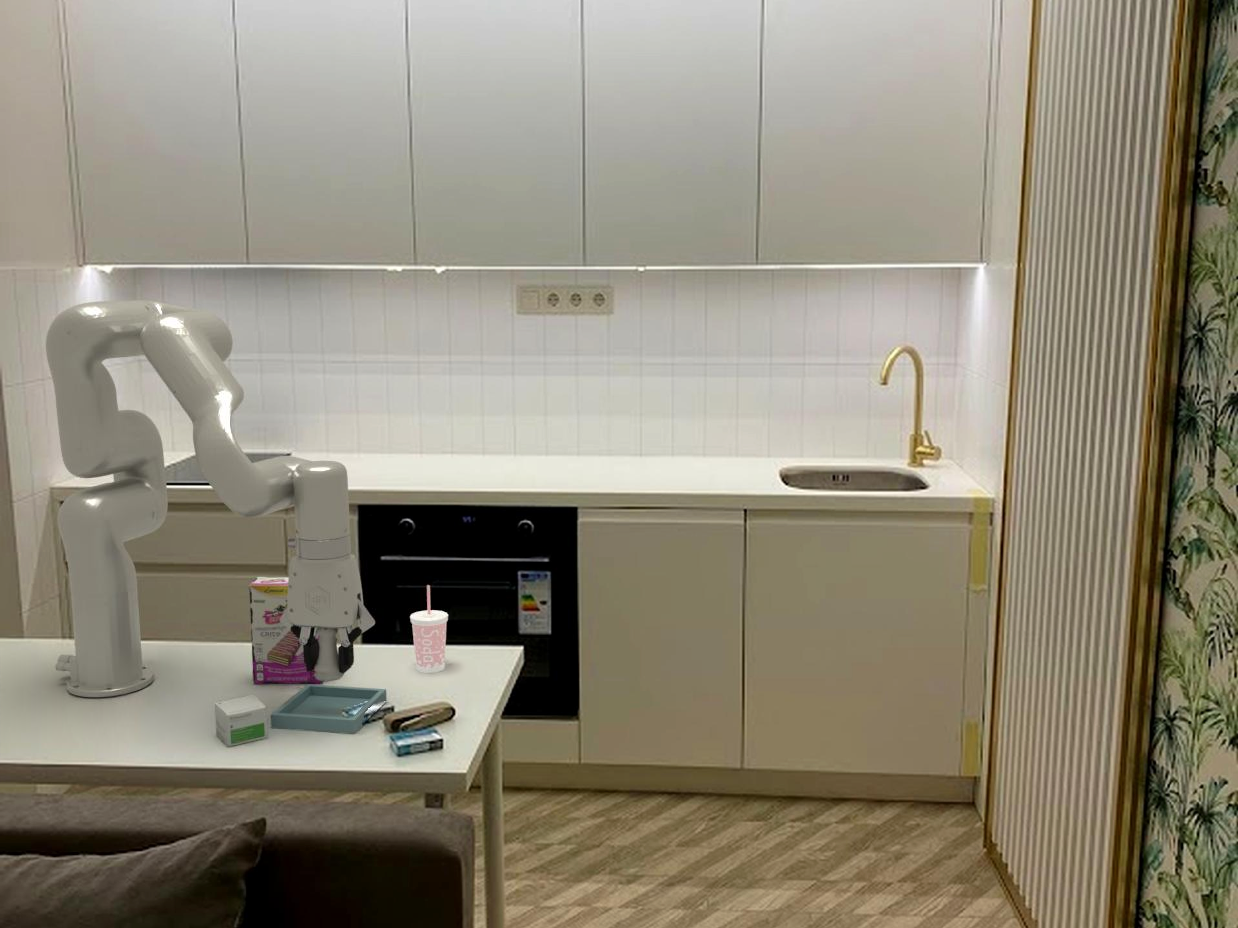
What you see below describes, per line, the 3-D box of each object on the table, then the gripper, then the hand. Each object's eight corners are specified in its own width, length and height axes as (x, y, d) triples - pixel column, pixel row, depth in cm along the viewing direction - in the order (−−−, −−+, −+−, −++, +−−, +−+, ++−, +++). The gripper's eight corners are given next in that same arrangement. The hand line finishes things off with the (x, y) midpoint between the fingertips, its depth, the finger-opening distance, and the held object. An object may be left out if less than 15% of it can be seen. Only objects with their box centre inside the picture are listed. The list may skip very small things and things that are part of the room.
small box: (228, 748, 164) (226, 714, 163) (215, 734, 169) (213, 701, 168) (269, 738, 167) (267, 705, 166) (254, 725, 172) (253, 693, 171)
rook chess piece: (329, 669, 178) (326, 617, 176) (351, 674, 176) (349, 622, 174) (307, 678, 174) (304, 625, 173) (330, 683, 172) (327, 630, 170)
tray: (271, 727, 171) (270, 714, 170) (308, 696, 183) (307, 684, 183) (354, 733, 169) (354, 720, 168) (386, 701, 181) (386, 689, 181)
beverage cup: (405, 672, 194) (403, 589, 191) (419, 660, 200) (417, 579, 197) (441, 675, 192) (439, 591, 190) (454, 663, 198) (452, 581, 196)
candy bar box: (252, 685, 188) (247, 584, 185) (260, 674, 193) (255, 575, 190) (324, 684, 188) (319, 584, 185) (330, 674, 193) (326, 575, 190)
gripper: (256, 551, 169) (263, 674, 172) (369, 555, 167) (374, 681, 170) (280, 539, 177) (286, 658, 180) (388, 543, 174) (393, 663, 177)
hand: (329, 667), depth 175 cm, fingers closed on rook chess piece, 4 cm apart
